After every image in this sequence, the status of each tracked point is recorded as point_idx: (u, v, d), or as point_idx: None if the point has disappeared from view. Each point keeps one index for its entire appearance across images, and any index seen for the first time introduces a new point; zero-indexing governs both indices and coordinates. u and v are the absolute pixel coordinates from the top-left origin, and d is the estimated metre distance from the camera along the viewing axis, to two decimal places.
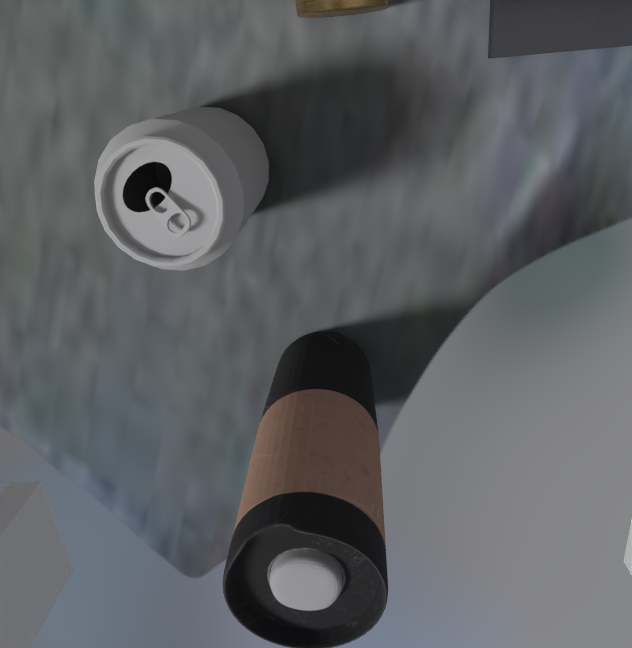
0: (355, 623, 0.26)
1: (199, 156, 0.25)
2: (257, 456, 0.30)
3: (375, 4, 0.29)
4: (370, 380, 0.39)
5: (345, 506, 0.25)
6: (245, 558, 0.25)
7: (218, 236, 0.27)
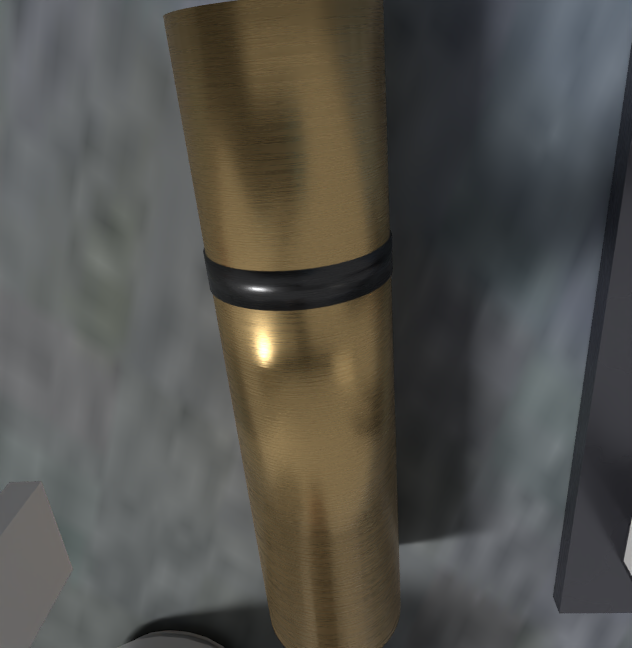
0: None
1: None
2: None
3: None
4: None
5: None
6: None
7: None
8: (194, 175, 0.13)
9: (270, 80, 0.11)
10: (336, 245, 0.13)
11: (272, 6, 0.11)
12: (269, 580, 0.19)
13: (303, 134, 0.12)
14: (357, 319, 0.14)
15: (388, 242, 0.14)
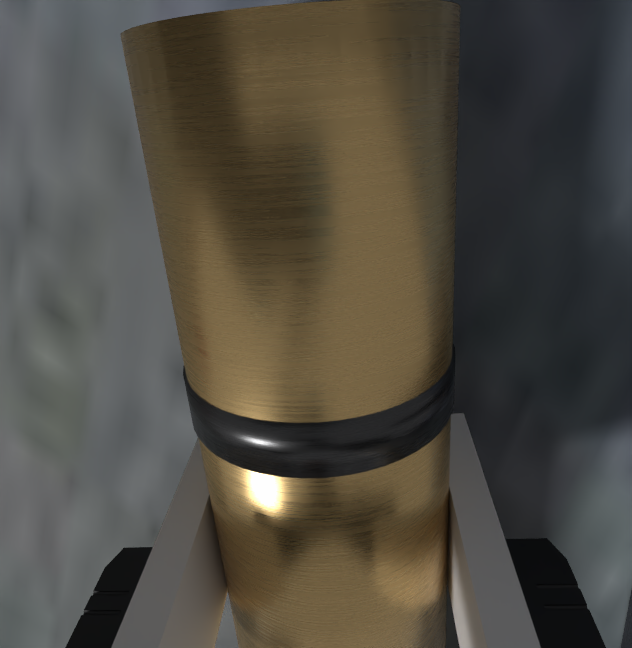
0: None
1: None
2: None
3: None
4: None
5: None
6: None
7: None
8: (167, 269, 0.09)
9: (278, 141, 0.07)
10: (376, 386, 0.08)
11: (283, 20, 0.06)
12: None
13: (329, 225, 0.07)
14: (403, 484, 0.09)
15: (451, 367, 0.10)
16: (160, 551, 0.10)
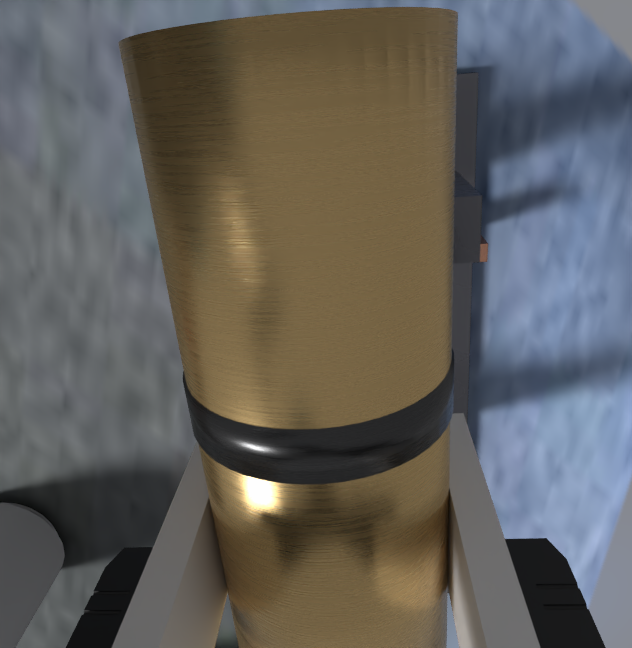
0: None
1: None
2: None
3: None
4: None
5: None
6: None
7: None
8: (166, 276, 0.09)
9: (275, 149, 0.07)
10: (375, 393, 0.08)
11: (280, 30, 0.06)
12: None
13: (329, 232, 0.07)
14: (403, 490, 0.09)
15: (451, 372, 0.10)
16: (160, 551, 0.10)
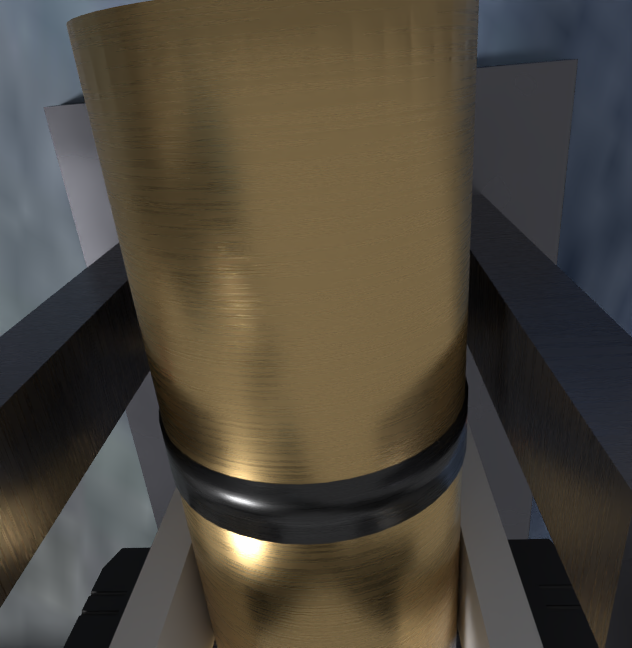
0: None
1: None
2: None
3: None
4: None
5: None
6: None
7: None
8: (136, 306, 0.08)
9: (275, 158, 0.05)
10: (392, 437, 0.07)
11: (280, 6, 0.05)
12: None
13: (339, 258, 0.06)
14: (420, 539, 0.08)
15: (467, 400, 0.09)
16: (158, 551, 0.10)
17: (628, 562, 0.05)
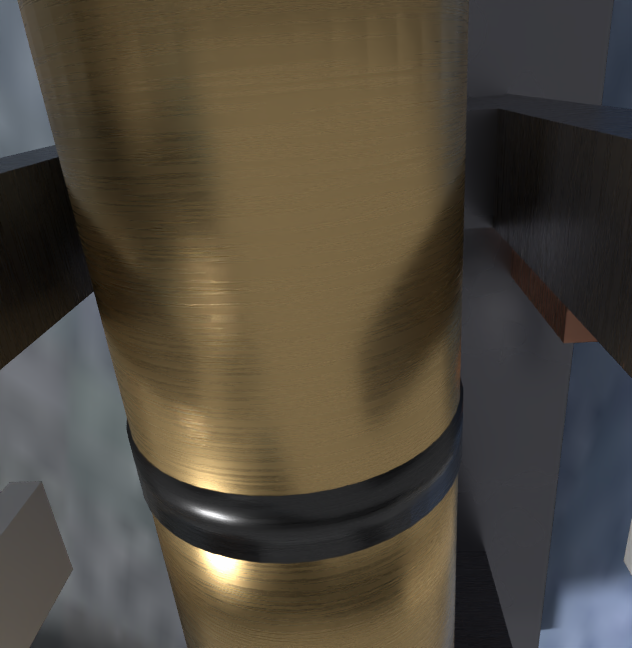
0: None
1: None
2: None
3: None
4: None
5: None
6: None
7: None
8: None
9: (205, 125, 0.05)
10: (355, 451, 0.06)
11: None
12: None
13: (283, 242, 0.05)
14: (393, 567, 0.07)
15: (458, 415, 0.08)
16: None
17: None
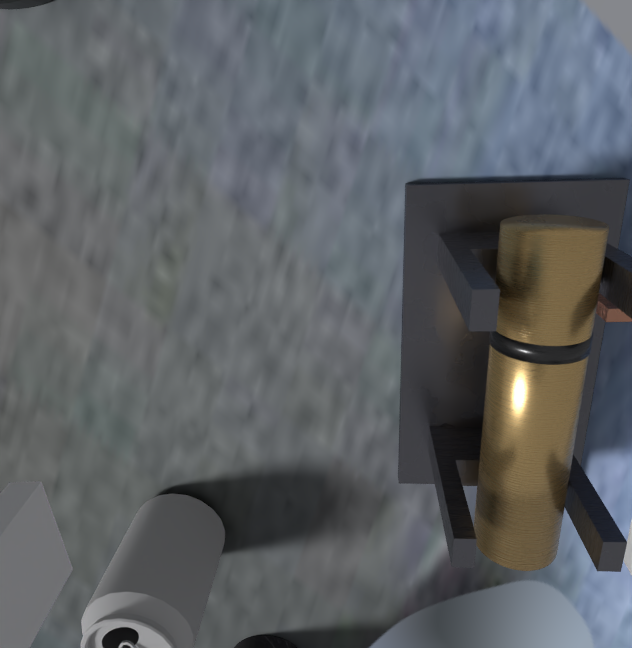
0: None
1: (159, 632, 0.34)
2: None
3: (547, 564, 0.33)
4: None
5: None
6: None
7: None
8: (512, 299, 0.28)
9: (574, 266, 0.26)
10: (583, 334, 0.28)
11: (582, 238, 0.25)
12: (496, 519, 0.32)
13: (582, 287, 0.26)
14: (582, 368, 0.28)
15: None
16: None
17: None
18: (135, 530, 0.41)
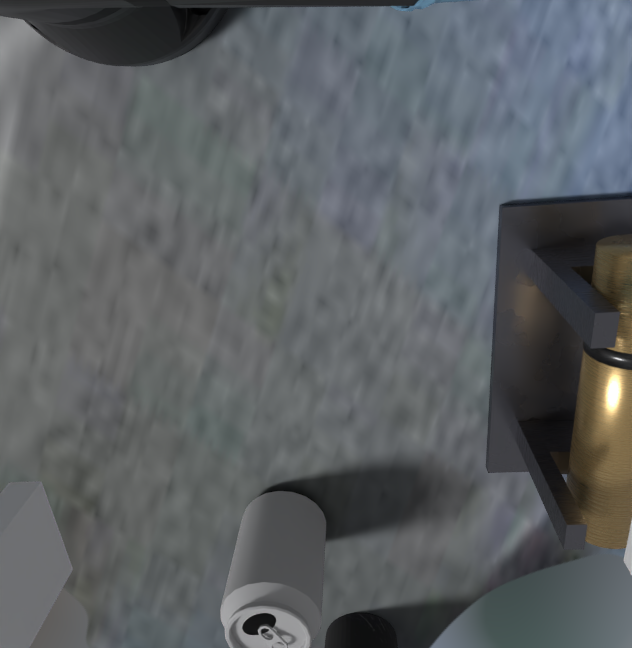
0: None
1: (296, 616, 0.39)
2: None
3: None
4: None
5: None
6: None
7: None
8: None
9: None
10: None
11: None
12: (583, 501, 0.37)
13: None
14: None
15: None
16: None
17: None
18: (252, 526, 0.45)
